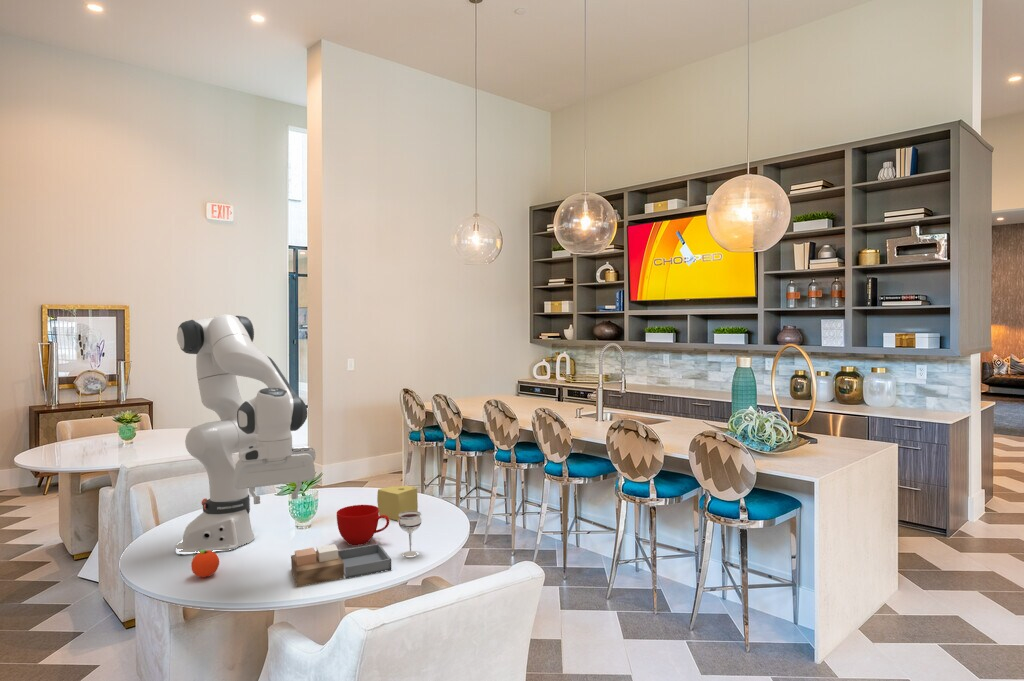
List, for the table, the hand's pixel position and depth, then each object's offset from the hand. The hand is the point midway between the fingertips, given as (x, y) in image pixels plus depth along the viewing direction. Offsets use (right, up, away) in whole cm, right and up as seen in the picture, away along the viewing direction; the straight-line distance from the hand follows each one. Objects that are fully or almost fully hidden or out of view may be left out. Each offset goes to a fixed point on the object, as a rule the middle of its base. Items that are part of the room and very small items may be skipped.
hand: (276, 501), depth 163 cm
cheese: (+22, -20, +57) cm, 64 cm away
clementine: (-22, -22, +5) cm, 31 cm away
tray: (+21, -21, +10) cm, 31 cm away
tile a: (+12, -17, +6) cm, 22 cm away
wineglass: (+33, -21, +19) cm, 43 cm away
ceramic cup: (+16, -21, +29) cm, 40 cm away
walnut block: (+9, -21, +5) cm, 24 cm away
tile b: (+7, -17, +4) cm, 19 cm away
